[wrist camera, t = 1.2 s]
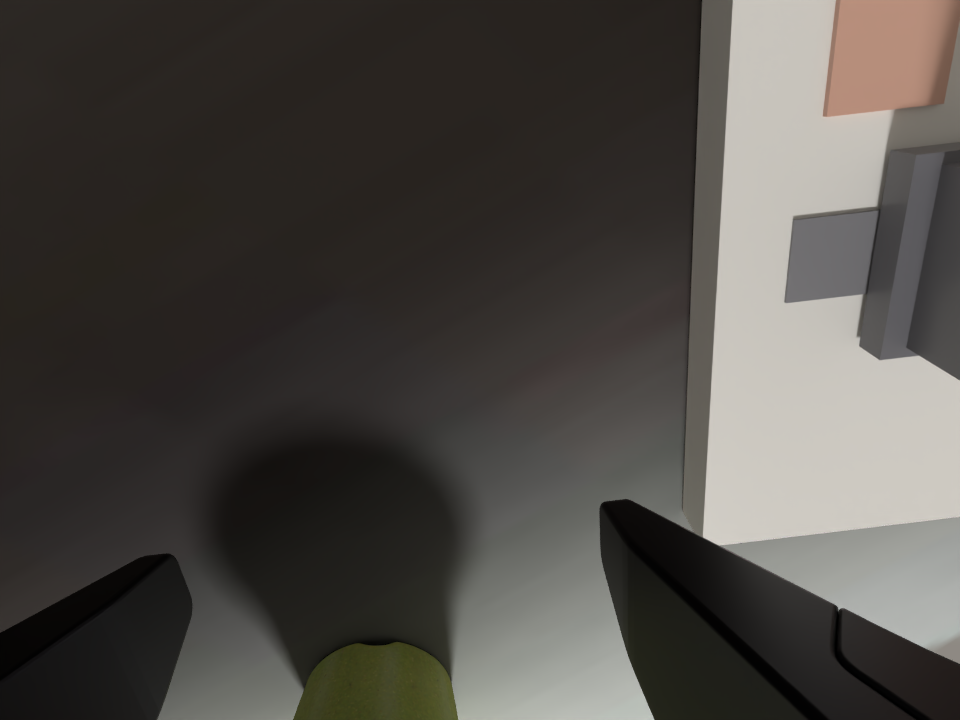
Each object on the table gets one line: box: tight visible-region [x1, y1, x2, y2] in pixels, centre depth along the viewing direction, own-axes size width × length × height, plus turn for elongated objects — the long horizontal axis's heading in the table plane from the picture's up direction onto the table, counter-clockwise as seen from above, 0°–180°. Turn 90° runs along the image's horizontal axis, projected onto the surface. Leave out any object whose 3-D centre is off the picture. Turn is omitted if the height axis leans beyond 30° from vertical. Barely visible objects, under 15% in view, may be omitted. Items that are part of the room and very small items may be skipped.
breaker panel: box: [683, 0, 960, 545], centre depth 19 cm, size 14×20×2 cm
